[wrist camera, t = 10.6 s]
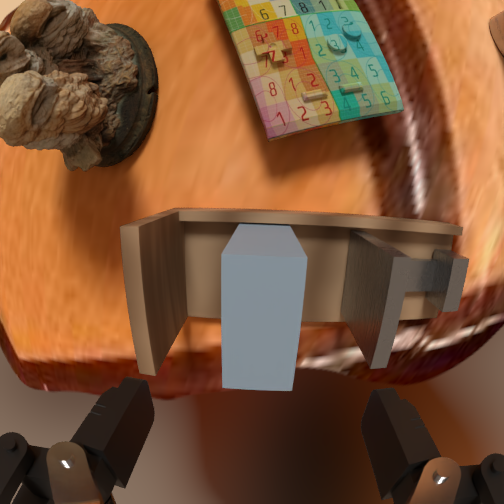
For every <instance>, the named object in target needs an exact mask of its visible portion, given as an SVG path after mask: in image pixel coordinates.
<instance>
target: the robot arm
mask: <svg viewBox="0 0 504 504" xmlns="http://www.w3.org/2000/svg"><path fill="white" fill-rule="evenodd" d="M489 26H490V31H491V34H492V36H493V39H494V41H495V43H496V45H497V46H498V48H499V50H500V51H501V53H502V54H503V56H504V11H502V12H500V13H499V14H497V15H495V16H494V17H492V18H491V19H490V22H489ZM153 421H154V407H153V402H152V398H151V394H150V390H149V386H148V382H147V381H146V380H142V379H137V378H132V377H125V378H124V379H123V381H122V382H121V384H120V386H119V387H118V388H115V387H112V388H110V389H109V390H107V391H106V392H104V393H103V394H102V395H101V396H100V398H99V399H98V401H97V402H96V405H94V406H93V408H92V409H91V412H90V413H89V414H88V416H87V417H86V418H85V420H84V421H83V423H82V424H81V426H80V427H79V429H78V430H77V432H76V433H75V435H74V436H73V438H72V439H71V440H70V441H69V442H66V441H65V442H59V443H56V444H55V445H53V446H52V447H51V448H43V447H37V446H31V445H29V444H28V443H27V441H26V440H25V438H24V437H23V436H22V435H20V434H18V433H14V432H9V433H6V434H4V435H2V436H1V437H0V504H10V502H11V500H12V498H13V496H14V494H15V493H16V491H17V489H18V487H19V485H20V484H21V483H22V486H21V488H20V490H19V491H18V493H17V495H16V497H15V499H14V500H13V503H12V504H116V501H115V499H114V497H113V494H112V490H113V487H114V485H116V486H119V487H122V488H126V485H127V483H128V480H129V478H130V476H131V473H132V471H133V468H134V466H135V464H136V462H137V459H138V457H139V455H140V452H141V450H142V448H143V445H144V443H145V441H146V438H147V436H148V433H149V431H150V429H151V427H152V424H153ZM424 425H425V424H424V423H423V421H422V419H420V415H419V414H418V412H417V410H416V408H415V407H414V406H413V405H412V404H411V403H409V402H408V401H407V400H406V399H403V400H400V398H399V396H398V394H397V392H396V390H395V389H394V388H386V389H377V390H373V391H372V392H371V395H370V398H369V401H368V403H367V406H366V409H365V412H364V414H363V417H362V421H361V431H362V435H363V438H364V442H365V445H366V448H367V451H368V455H369V458H370V461H371V464H372V468H373V471H374V475H375V478H376V481H377V485H378V489H379V492H380V496H381V499H382V500H384V499H388V498H393V501H394V504H504V455H501V454H491V455H489V456H487V457H486V458H485V459H484V460H483V461H482V462H481V464H480V465H470V466H459V465H458V464H457V463H456V462H454V461H453V460H451V459H449V458H445V457H441V455H440V453H439V451H438V449H437V447H436V445H435V443H434V441H433V440H432V438H431V436H430V434H429V432H428V430H427V428H426V427H425V426H424Z"/></svg>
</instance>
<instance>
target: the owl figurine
mask: <svg viewBox="0 0 504 504" xmlns="http://www.w3.org/2000/svg"><path fill="white" fill-rule="evenodd" d="M10 31H11V35H10V34H9V32H5V31H0V137H1V138H3V139H4V141H5V142H6V144H8V145H10V146H13V147H14V146H21V145H22V146H24V147H25V148H26V149H37V150H42V149H48V150H50V149H58V150H60V151H61V152H62V153H63V157H64V162H65V165H66V167H67V169H69V170H70V171H74V170H76V168H77V167H80V168H81V169H82V170H83V171H87V170H89V169H90V168H91V167H93V166H98V167H107V166H112V165H115V164H117V163H119V162H121V161H122V160H124V159H125V158H127V157H128V156H130V155H132V154H133V152H135V151H136V150H137V149H138V148H139V146H140V145H141V143H142V141H143V140H144V139H145V137H146V135H147V133H148V131H149V130H150V127H151V124H152V122H153V119H154V115H155V109H156V103H157V99H158V95H157V93H155V92H152V93H151V94H147V92H148V91H149V90H150V89H151V88H152V87H153V86H154V89H155V90H156V89H157V88H158V74H157V68H156V64H155V61H154V57H153V55H152V52H151V49H150V48H149V45H148V44H147V42H146V41H145V40H144V38H143V37H142V36H141V35H140V34H139V33H138V32H137V31H135V30H134V29H133V28H131V27H129V26H127V25H123V24H118V23H117V24H116V23H114V24H106V25H104V24H102V23H100V22H99V20H98V19H97V17H96V15H95V14H94V12H93V10H92V9H90V8H83V9H82V8H81V7H80V6H77V5H76V4H75V3H73V2H72V1H69V0H25V1H24V2H22V3H21V5H20V6H19V7H18V9H17V10H16V12H15V14H14V16H13V18H12V20H11V25H10Z"/></svg>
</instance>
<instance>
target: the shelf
mask: <svg viewBox="0 0 504 504" xmlns="http://www.w3.org/2000/svg"><path fill="white" fill-rule="evenodd" d="M240 222H247V223H276V224H289V225H290V227H291V228H292V230H293V232H294V234H295V236H296V238H297V239H298V241H299V243H300V245H301V247H302V249H303V250H304V252H305V254H306V256H307V270H306V280H305V290H304V300H303V309H302V318H301V322H346V321H345V319H344V317H343V315H342V313H341V306H342V299H343V292H344V285H345V277H346V269H347V260H348V251H349V241H350V230H362V231H365V232H367V233H369V234H371V235H372V236H374V237H376V238H378V239H380V240H382V241H383V242H385V243H387V244H389V245H390V246H392V247H394V248H396V249H397V250H399V251H401V252H403V253H404V254H406V255H408V256H410V257H411V258H416V259H433V254H434V249H444V250H451V247H452V240H453V235H461V236H462V230H463V227H460V226H457V225H454V224H450V223H445V222H436V221H427V220H417V219H406V218H395V217H383V216H371V215H357V214H343V213H327V212H309V211H288V210H263V209H227V208H173V209H170V210H167V211H164V212H161V213H158V214H155V215H152V216H149V217H146V218H143V219H140V220H137V221H134V222H131V223H129V224H126V225H123V226H120V236H121V250H122V262H123V273H124V282H125V290H126V298H127V305H128V312H129V319H130V325H131V331H132V337H133V343H134V348H135V353H136V358H137V363H138V368H139V372H140V373H142V374H148V375H154V376H156V374H157V372H158V370H159V369H160V367H161V365H162V363H163V361H164V359H165V357H166V355H167V354H168V352H169V350H170V348H171V346H172V344H173V343H174V341H175V339H176V337H177V335H178V333H179V332H180V330H181V328H182V326H183V324H184V322H185V321H186V319H187V317H188V316H191V317H204V318H219V319H221V254H222V252H223V250H224V249H225V247H226V245H227V244H228V242H229V240H230V239H231V237H232V235H233V234H234V232H235V230H236V229H237V227H238V225H239V224H240ZM426 292H427V291H419V292H405V296H404V301H403V305H402V310H401V314H400V319H399V320H408V319H425V318H437V314H438V310H439V309H438V308H437V307H436V306H434V305H433V304H432V303H431V302H430V301H428V300H427V299H426V298H425V296H426Z"/></svg>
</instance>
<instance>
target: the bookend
mask: <svg viewBox="0 0 504 504" xmlns="http://www.w3.org/2000/svg"><path fill="white" fill-rule="evenodd" d="M468 263H469V259H468V258H466V257H464V256H462V255H459V254H457V253H455V252H453V251H451V250H444V249H434V254H433V259H416V258H411V257H410V256H408V255H406V254H404V253H403V252H401V251H399V250H397V249H396V248H394V247H392V246H390V245H389V244H387V243H385V242H383V241H382V240H380V239H378V238H376V237H374V236H372V235H371V234H369V233H367V232H365V231H362V230H350V241H349V251H348V260H347V269H346V277H345V285H344V292H343V299H342V306H341V313H342V315H343V317H344V319H345V321H346V323H347V325H348V327H349V328H350V330H351V332H352V334H353V336H354V338H355V340H356V342H357V344H358V346H359V348H360V350H361V351H362V353H363V355H364V357H365V359H366V361H367V363H368V365H369V367H370V369H374V368H385V367H386V366H387V363H388V360H389V356H390V353H391V349H392V346H393V342H394V339H395V335H396V331H397V327H398V323H399V319H400V314H401V310H402V305H403V301H404V296H405V292H419V291H427V292H426V296H425V298H426V299H427V300H428V301H430V302H431V303H432V304H433V305H434V306H436V307H437V308H438V309H439V310H440V311H442V312H449V311H458V307H459V303H460V299H461V295H462V291H463V287H464V282H465V278H466V273H467V268H468Z"/></svg>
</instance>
